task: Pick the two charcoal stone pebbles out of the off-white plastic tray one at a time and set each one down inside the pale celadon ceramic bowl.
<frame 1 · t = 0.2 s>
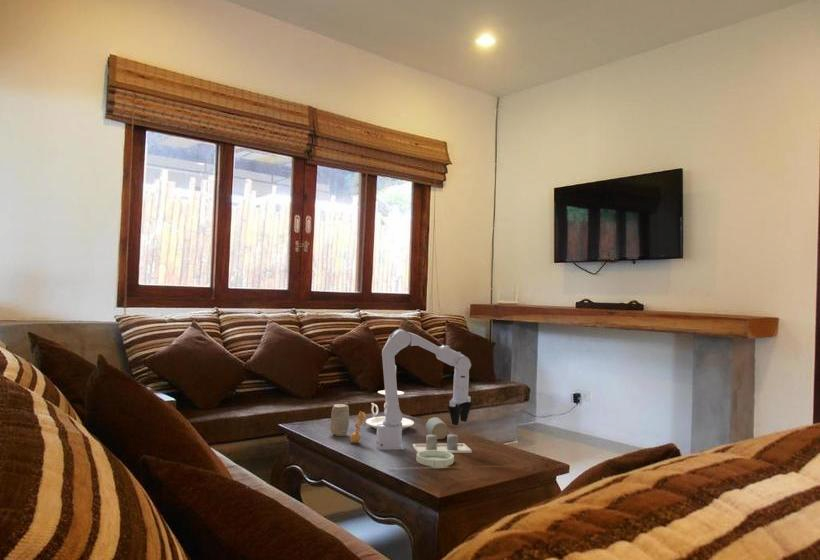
hand: (459, 423, 216), 10 cm above the table, tool pointing down, fingers open, 7 cm apart
parts tray: (441, 450, 212), on the table
candlestick: (386, 428, 244), on the table
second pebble: (431, 449, 211), point 1 cm above the table, touching parts tray
celadon bowl: (434, 462, 197), on the table
carving: (339, 435, 230), on the table
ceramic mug: (439, 438, 231), on the table
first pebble: (452, 449, 213), point 1 cm above the table, touching parts tray
figurine: (357, 443, 219), on the table
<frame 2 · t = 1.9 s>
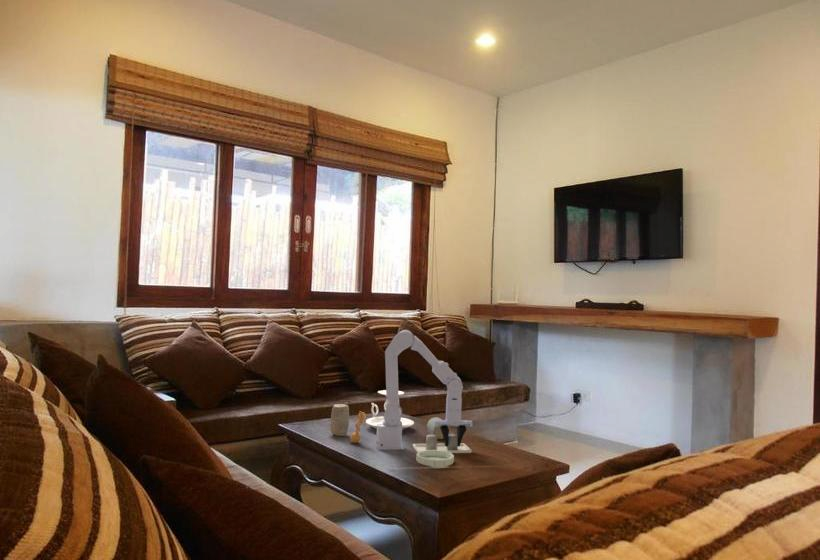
hand: (452, 445, 213), 2 cm above the table, tool pointing down, fingers closed on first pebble, 4 cm apart
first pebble: (452, 449, 213), point 1 cm above the table, touching gripper, parts tray
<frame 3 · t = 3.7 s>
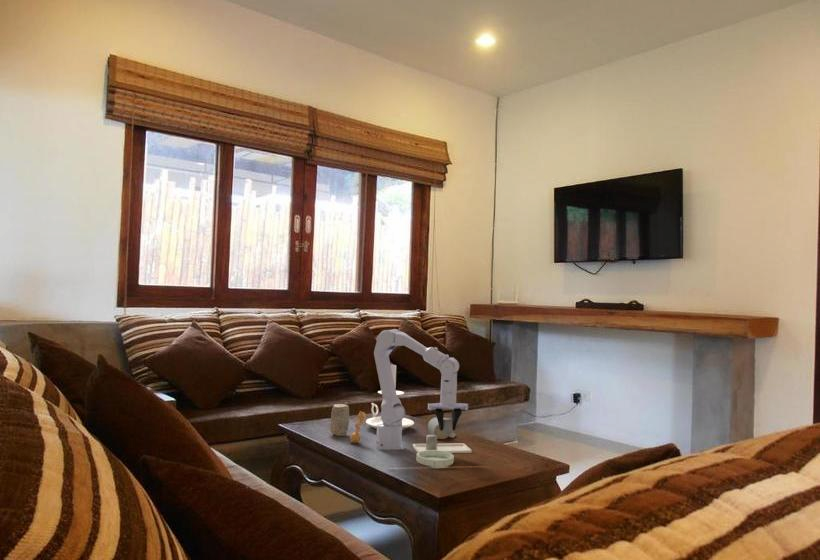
hand: (447, 429, 206), 9 cm above the table, tool pointing down, fingers closed on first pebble, 4 cm apart
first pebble: (447, 433, 206), point 8 cm above the table, touching gripper
when the fingers open (3 cm above the table, at t = 6.0 s): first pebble drops 1 cm, resting on celadon bowl.
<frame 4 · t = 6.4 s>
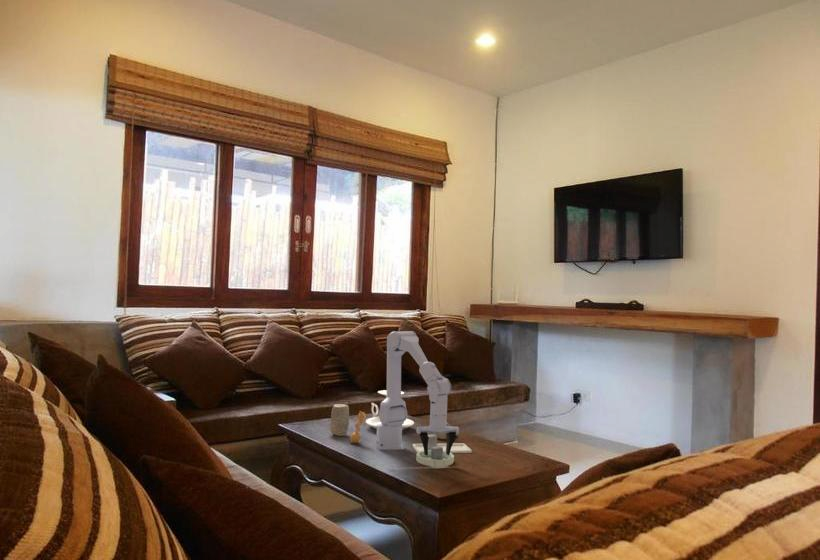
hand: (436, 454, 195), 3 cm above the table, tool pointing down, fingers open, 7 cm apart
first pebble: (436, 462, 195), point 1 cm above the table, touching celadon bowl
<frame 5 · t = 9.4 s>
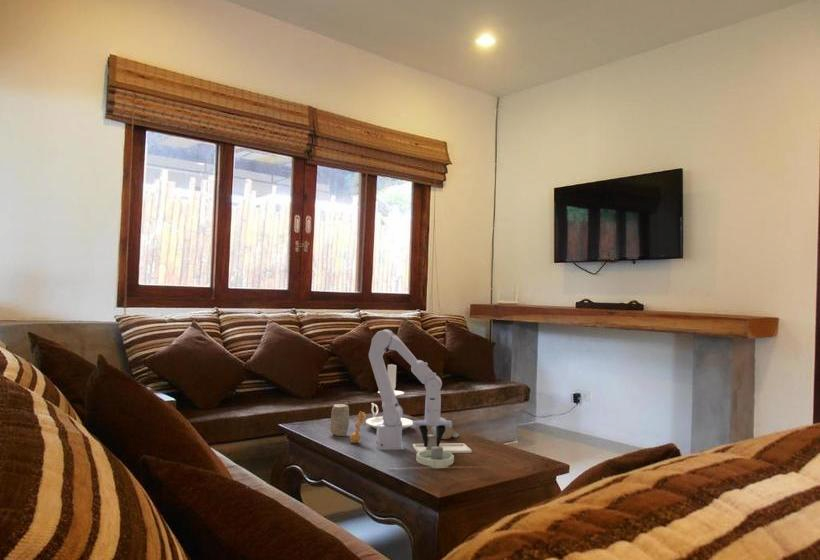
hand: (431, 446, 211), 2 cm above the table, tool pointing down, fingers closed on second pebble, 4 cm apart
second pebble: (431, 449, 211), point 1 cm above the table, touching gripper, parts tray
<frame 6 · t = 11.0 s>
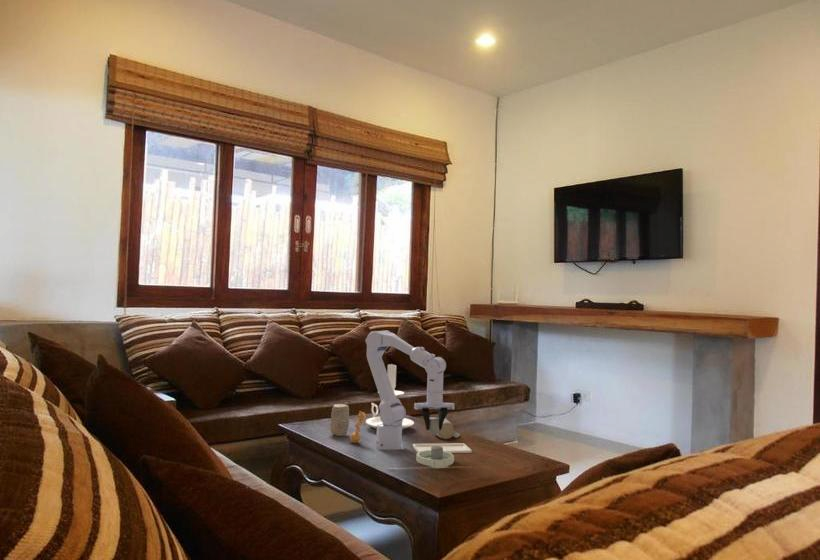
hand: (433, 429, 205), 9 cm above the table, tool pointing down, fingers closed on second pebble, 4 cm apart
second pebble: (433, 432, 206), point 8 cm above the table, touching gripper
when the fingers open (3 cm above the table, at t = 12.9 s): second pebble drops 2 cm, resting on celadon bowl.
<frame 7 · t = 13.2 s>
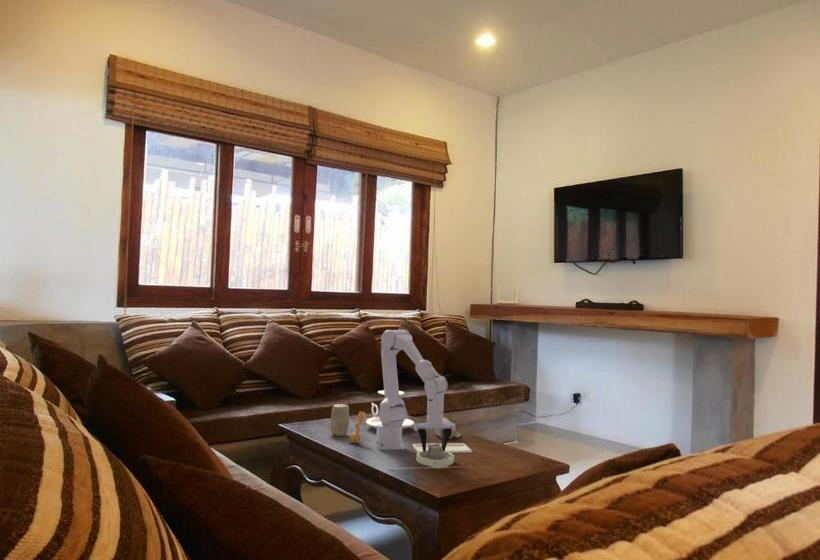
hand: (433, 450, 199), 3 cm above the table, tool pointing down, fingers open, 6 cm apart
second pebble: (433, 458, 199), point 1 cm above the table, touching celadon bowl
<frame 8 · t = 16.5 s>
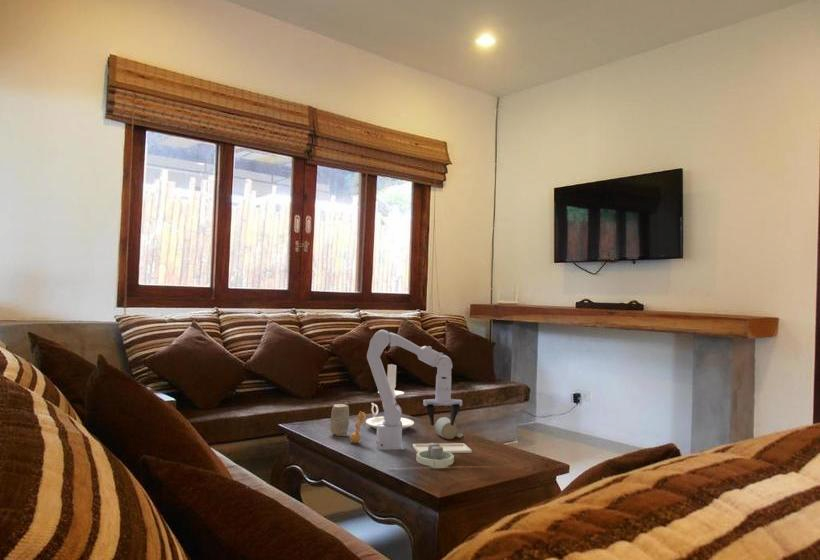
hand: (442, 424, 213), 9 cm above the table, tool pointing down, fingers open, 7 cm apart
at the end: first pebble inside the target area on the celadon bowl (2.2 cm from its centre), point 0.6 cm above the celadon bowl's base; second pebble inside the target area on the celadon bowl (2.4 cm from its centre), point 0.6 cm above the celadon bowl's base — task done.
